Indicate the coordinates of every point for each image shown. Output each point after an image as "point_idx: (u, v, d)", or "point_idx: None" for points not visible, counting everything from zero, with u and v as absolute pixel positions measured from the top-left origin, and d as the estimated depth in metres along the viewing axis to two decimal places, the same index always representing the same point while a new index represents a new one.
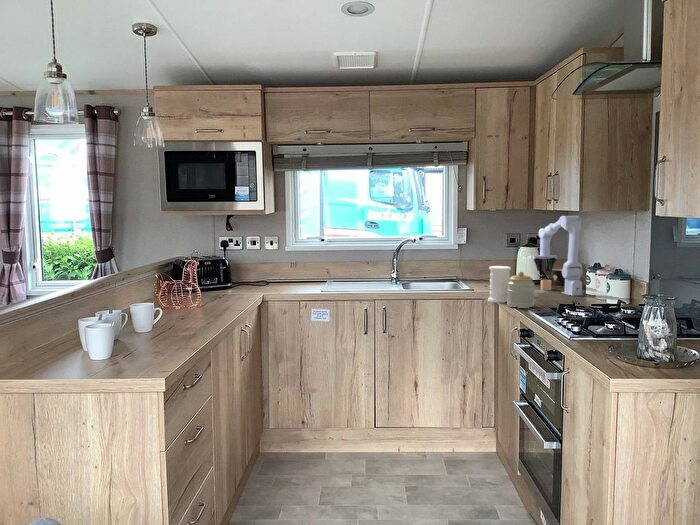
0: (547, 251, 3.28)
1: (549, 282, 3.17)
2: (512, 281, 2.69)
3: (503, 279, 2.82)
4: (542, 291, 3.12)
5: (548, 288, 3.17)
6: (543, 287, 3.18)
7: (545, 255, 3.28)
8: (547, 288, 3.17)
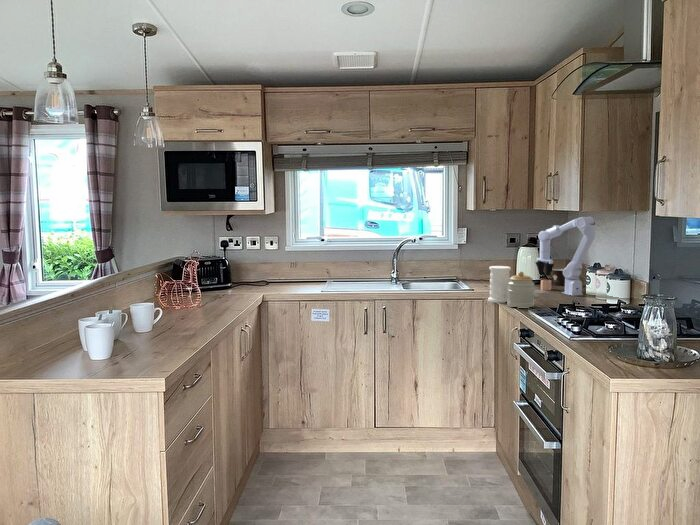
0: (540, 254, 3.16)
1: (549, 282, 3.17)
2: (512, 281, 2.69)
3: (503, 279, 2.82)
4: (542, 291, 3.12)
5: (548, 288, 3.17)
6: (543, 287, 3.18)
7: (539, 258, 3.18)
8: (547, 288, 3.17)
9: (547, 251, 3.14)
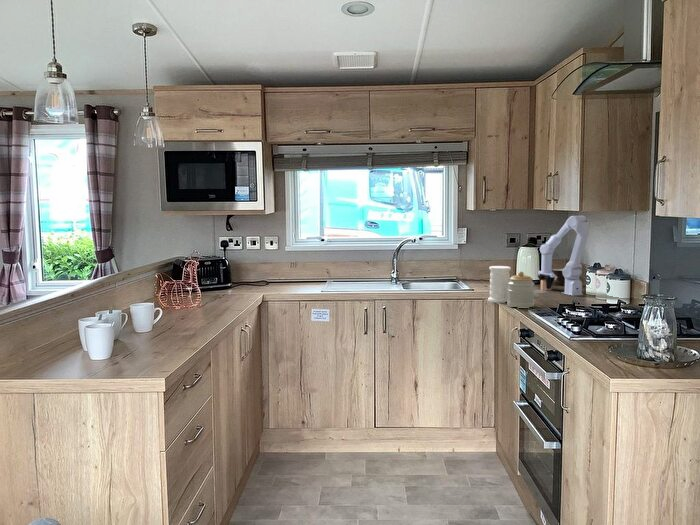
0: (542, 268, 3.18)
1: None
2: (512, 281, 2.69)
3: (503, 279, 2.82)
4: (542, 291, 3.12)
5: None
6: (543, 287, 3.18)
7: (541, 271, 3.19)
8: None
9: (548, 265, 3.15)
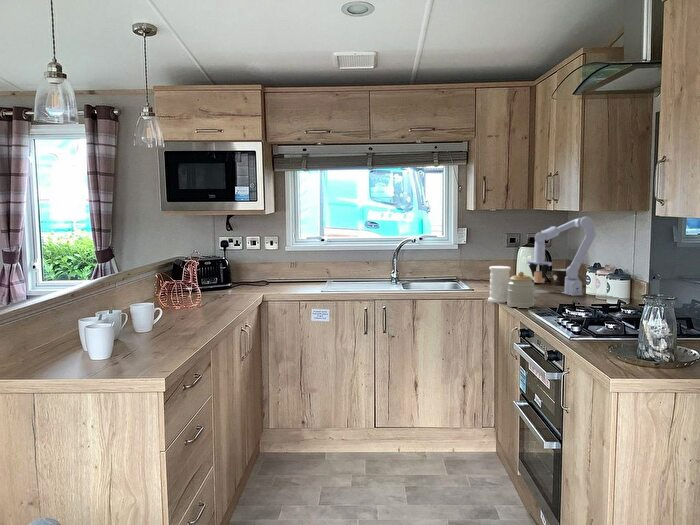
0: (537, 257, 3.08)
1: None
2: (512, 281, 2.69)
3: (503, 279, 2.82)
4: (542, 291, 3.12)
5: (543, 279, 3.10)
6: (539, 279, 3.09)
7: (535, 260, 3.09)
8: (542, 279, 3.09)
9: (544, 253, 3.08)
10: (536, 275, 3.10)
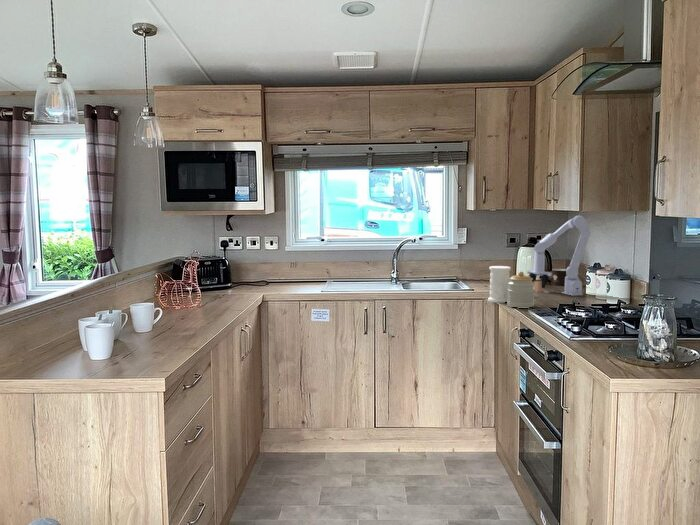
0: (536, 267, 3.09)
1: None
2: (512, 281, 2.69)
3: (503, 279, 2.82)
4: None
5: (543, 289, 3.10)
6: (538, 288, 3.10)
7: (535, 270, 3.10)
8: (542, 289, 3.10)
9: (543, 263, 3.08)
10: (536, 284, 3.10)
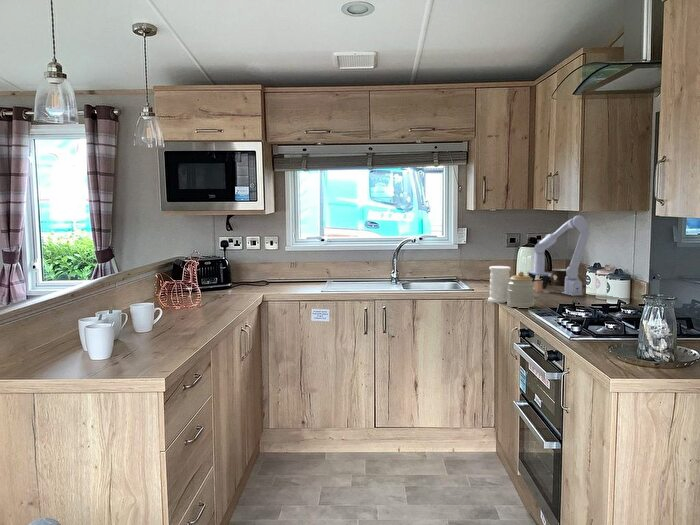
0: (536, 267, 3.09)
1: None
2: (512, 281, 2.69)
3: (503, 279, 2.82)
4: None
5: (543, 289, 3.10)
6: (538, 288, 3.10)
7: (535, 271, 3.10)
8: (542, 289, 3.10)
9: (543, 264, 3.08)
10: (536, 284, 3.10)
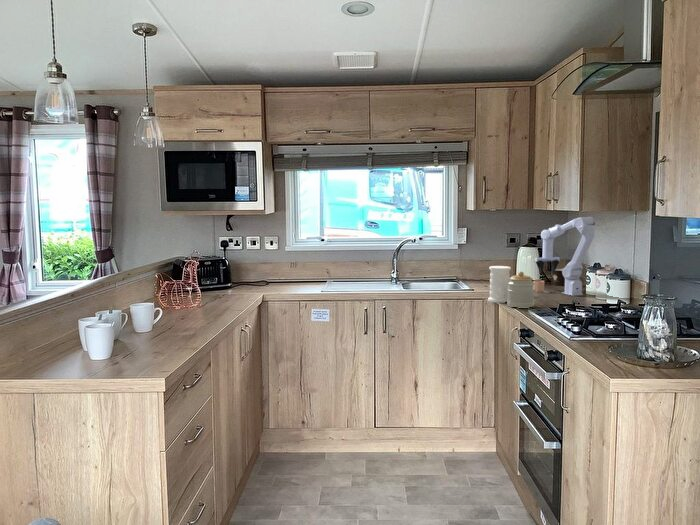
0: (550, 253, 3.16)
1: (543, 283, 3.10)
2: (512, 281, 2.69)
3: (503, 279, 2.82)
4: None
5: (543, 289, 3.10)
6: (538, 288, 3.10)
7: (548, 257, 3.16)
8: (542, 289, 3.10)
9: (549, 250, 3.15)
10: (536, 284, 3.10)
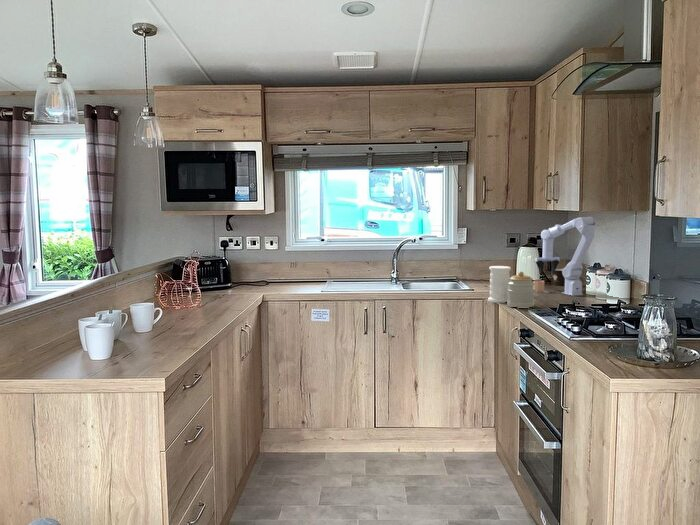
0: (550, 253, 3.16)
1: (543, 283, 3.10)
2: (512, 281, 2.69)
3: (503, 279, 2.82)
4: None
5: (543, 289, 3.10)
6: (538, 288, 3.10)
7: (548, 257, 3.16)
8: (542, 289, 3.10)
9: (549, 250, 3.15)
10: (536, 284, 3.10)
